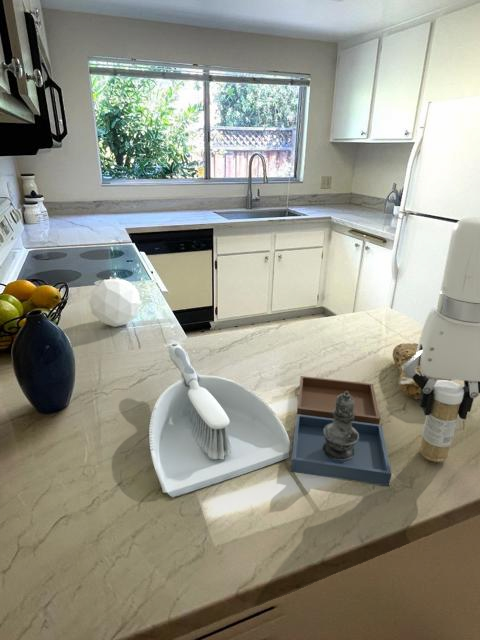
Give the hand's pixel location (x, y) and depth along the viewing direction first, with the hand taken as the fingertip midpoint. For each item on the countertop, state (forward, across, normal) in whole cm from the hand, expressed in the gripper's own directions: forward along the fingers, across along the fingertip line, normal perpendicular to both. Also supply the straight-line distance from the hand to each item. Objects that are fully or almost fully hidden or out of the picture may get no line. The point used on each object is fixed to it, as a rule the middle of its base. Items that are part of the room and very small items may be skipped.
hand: (442, 411), depth 65 cm
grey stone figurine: (+9, +16, +2) cm, 18 cm away
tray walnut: (+9, +16, -12) cm, 22 cm away
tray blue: (+9, +16, +2) cm, 18 cm away
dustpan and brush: (+9, +42, -2) cm, 43 cm away
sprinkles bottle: (+9, 0, 0) cm, 9 cm away
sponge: (+10, -2, -25) cm, 27 cm away
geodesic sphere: (+8, +78, -40) cm, 88 cm away
